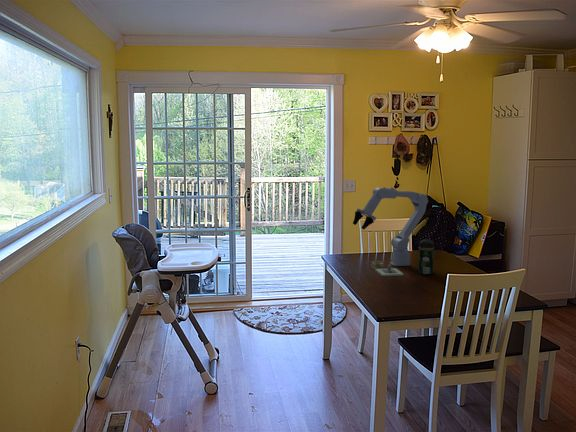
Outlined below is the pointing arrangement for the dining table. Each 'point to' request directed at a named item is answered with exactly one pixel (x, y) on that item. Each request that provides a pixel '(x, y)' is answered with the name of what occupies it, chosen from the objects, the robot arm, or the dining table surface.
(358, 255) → the dining table surface
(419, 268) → the coffee jar
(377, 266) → the collar
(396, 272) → the pin board
